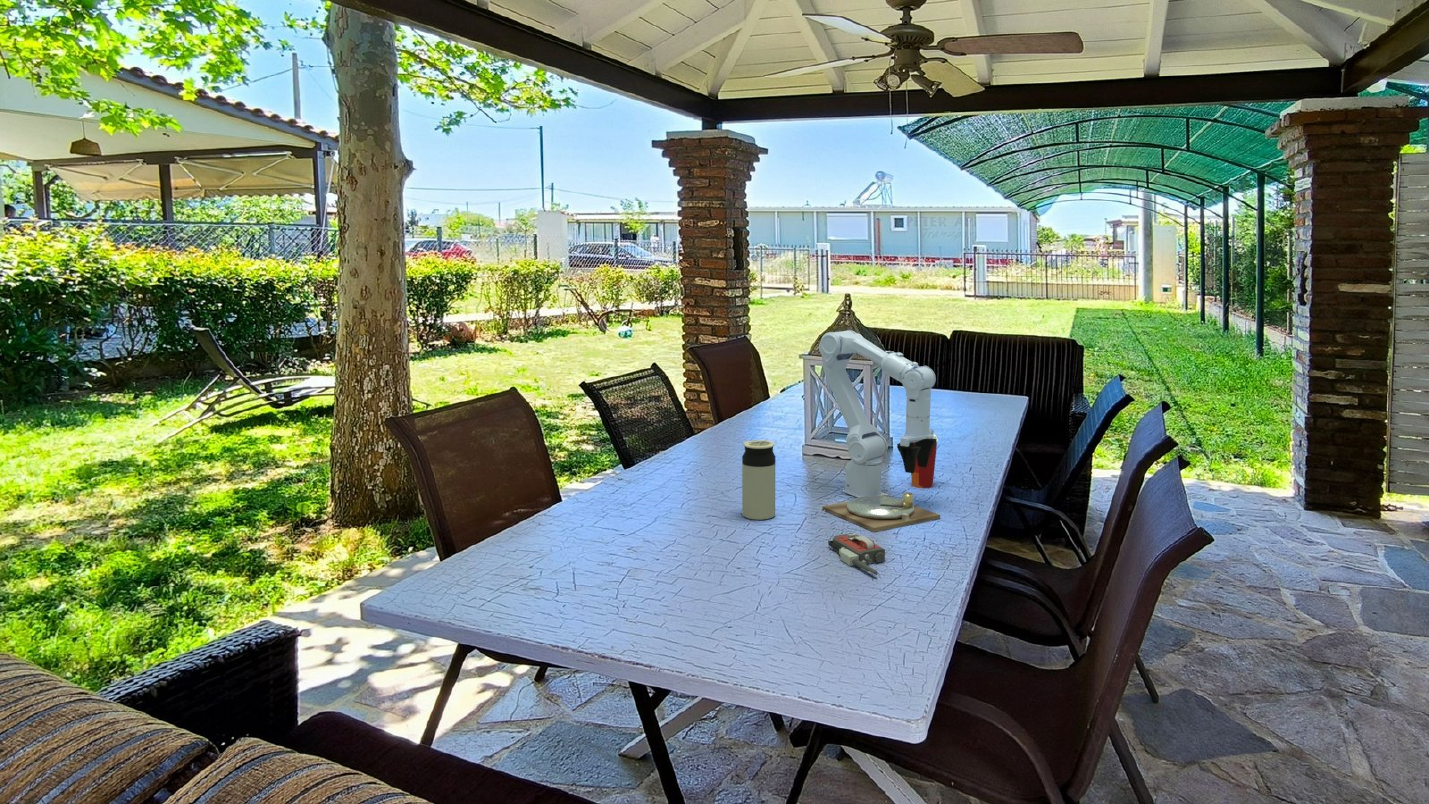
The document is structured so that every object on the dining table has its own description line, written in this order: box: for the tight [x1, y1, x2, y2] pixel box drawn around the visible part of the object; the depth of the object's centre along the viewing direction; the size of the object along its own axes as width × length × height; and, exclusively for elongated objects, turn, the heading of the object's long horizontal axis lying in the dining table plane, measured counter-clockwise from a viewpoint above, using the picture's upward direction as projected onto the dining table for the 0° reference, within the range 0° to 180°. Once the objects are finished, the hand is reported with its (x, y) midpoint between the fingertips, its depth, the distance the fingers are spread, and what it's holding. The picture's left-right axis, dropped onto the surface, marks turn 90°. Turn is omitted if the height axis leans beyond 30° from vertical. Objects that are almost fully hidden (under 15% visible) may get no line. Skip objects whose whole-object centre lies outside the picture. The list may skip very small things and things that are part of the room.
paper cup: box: [910, 433, 939, 489], centre depth 236 cm, size 8×8×14 cm
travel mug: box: [741, 439, 776, 521], centre depth 210 cm, size 8×8×18 cm
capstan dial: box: [847, 492, 914, 519], centre depth 211 cm, size 16×16×4 cm
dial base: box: [821, 495, 941, 533], centre depth 211 cm, size 20×20×2 cm
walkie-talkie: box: [828, 532, 886, 576], centre depth 180 cm, size 9×4×20 cm
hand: (916, 469), depth 217 cm, fingers open, 7 cm apart
